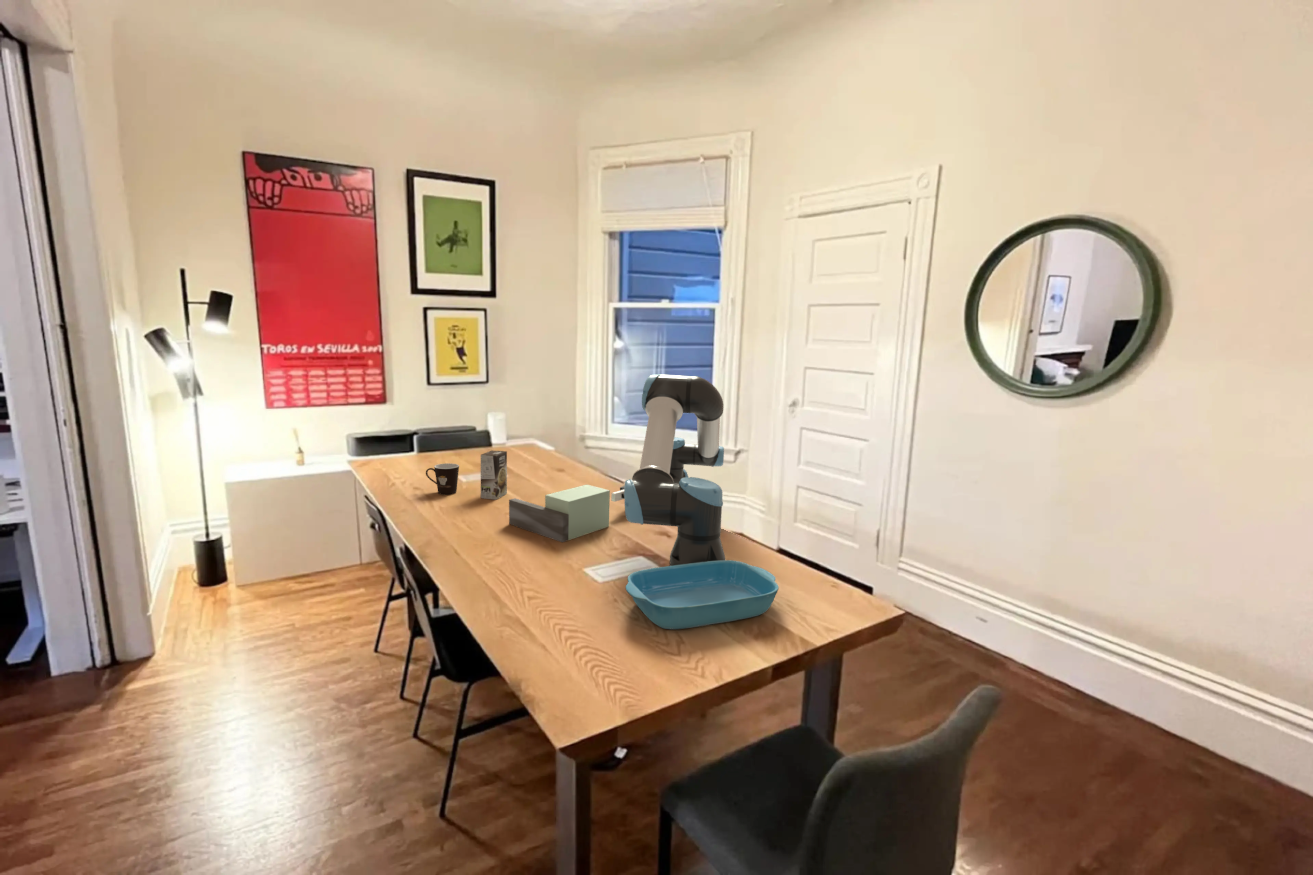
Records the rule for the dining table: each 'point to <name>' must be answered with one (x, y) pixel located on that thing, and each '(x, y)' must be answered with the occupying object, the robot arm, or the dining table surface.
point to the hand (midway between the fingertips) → (613, 497)
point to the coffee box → (493, 474)
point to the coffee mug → (445, 478)
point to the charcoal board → (539, 519)
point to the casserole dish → (702, 593)
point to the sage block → (582, 508)
